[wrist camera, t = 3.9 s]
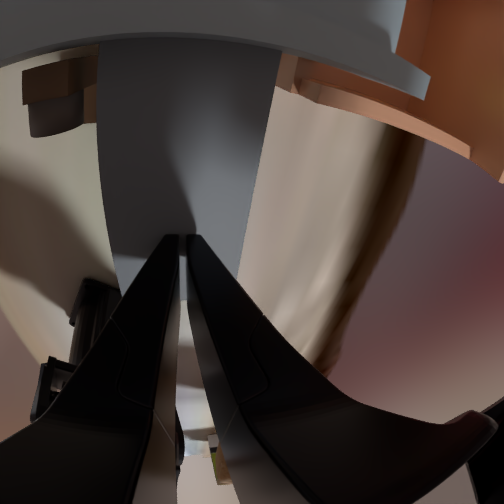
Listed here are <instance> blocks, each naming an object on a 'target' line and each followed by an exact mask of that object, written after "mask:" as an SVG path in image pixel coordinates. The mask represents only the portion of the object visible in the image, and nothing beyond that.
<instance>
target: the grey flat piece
mask: <svg viewBox="0 0 504 504" xmlns="http://www.w3.org/2000/svg"><path fill="white" fill-rule="evenodd" d="M405 5H406V0H0V68H1V67H4V66H7V65H10V64H12V63H15V62H18V61H22V60H25V59H28V58H32V57H35V56H39V55H43V54H46V53H51V52H55V51H59V50H64V49H69V48H74V47H80V46H86V45H93V44H99V55H98V68H97V92H96V121H97V146H98V160H99V172H100V182H101V190H102V198H103V205H104V212H105V219H106V225H107V231H108V236H109V242H110V247H111V252H112V257H113V261H114V266H115V270H116V274H117V279H118V283H119V287H120V291H121V295H122V297H123V295H124V294H125V292H126V290H127V289H128V287H129V286H130V284H131V283H132V281H133V280H134V278H135V277H136V275H137V274H138V272H139V271H140V269H141V268H142V266H143V265H144V263H145V262H146V260H147V259H148V258H149V256H150V255H151V253H152V252H153V250H154V249H155V247H156V246H157V245H158V243H159V242H160V240H161V239H162V238H163V236H164V235H165V234H178V235H179V252H180V301H182V300H187V292H186V235H187V234H200V235H202V237H203V238H204V239H205V241H206V242H207V243H208V245H209V246H210V247H211V248H212V250H213V251H214V252H215V254H216V255H217V256H218V257H219V259H220V260H221V261H222V263H223V264H224V265H225V266H226V268H227V269H228V270H229V271H230V273H231V274H232V275H233V276H234V278H235V279H237V274H238V269H239V264H240V258H241V253H242V248H243V243H244V237H245V232H246V227H247V222H248V217H249V212H250V207H251V202H252V197H253V191H254V186H255V181H256V176H257V171H258V166H259V161H260V156H261V151H262V147H263V142H264V137H265V132H266V127H267V122H268V117H269V112H270V108H271V103H272V98H273V93H274V88H275V84H276V79H277V74H278V69H279V65H280V60H281V55H282V53H285V54H289V55H294V56H298V57H301V58H305V59H309V60H313V61H316V62H319V63H323V64H326V65H329V66H332V67H336V68H339V69H341V70H344V71H347V72H350V73H353V74H356V75H358V76H361V77H363V78H366V79H369V80H372V81H375V82H378V83H381V84H384V85H387V86H389V87H392V88H395V89H397V90H400V91H403V92H405V93H407V94H410V95H412V96H415V97H417V98H419V99H421V100H424V98H425V95H426V92H427V88H428V85H429V81H430V78H431V76H429V75H428V74H426V73H425V72H423V71H422V70H420V69H419V68H417V67H416V66H414V65H413V64H411V63H410V62H408V61H406V60H405V59H403V58H402V57H400V56H398V55H397V54H395V51H396V47H397V43H398V38H399V34H400V30H401V25H402V20H403V15H404V10H405Z"/></svg>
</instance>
